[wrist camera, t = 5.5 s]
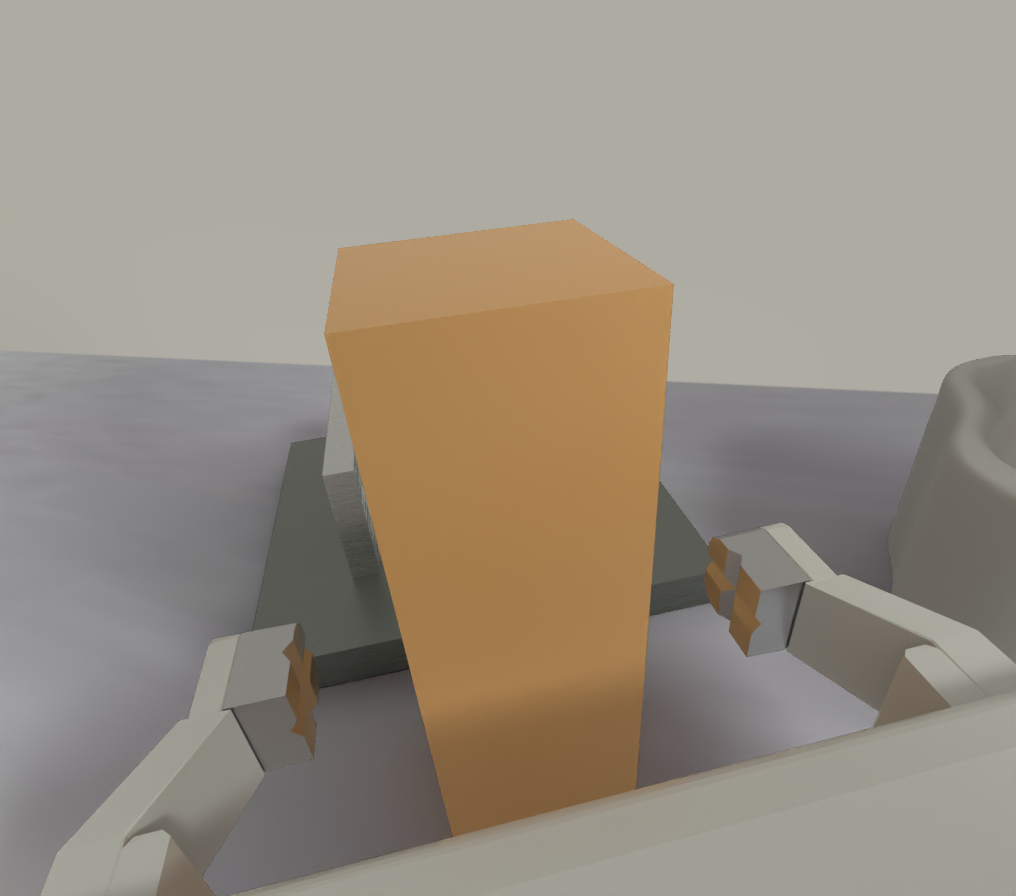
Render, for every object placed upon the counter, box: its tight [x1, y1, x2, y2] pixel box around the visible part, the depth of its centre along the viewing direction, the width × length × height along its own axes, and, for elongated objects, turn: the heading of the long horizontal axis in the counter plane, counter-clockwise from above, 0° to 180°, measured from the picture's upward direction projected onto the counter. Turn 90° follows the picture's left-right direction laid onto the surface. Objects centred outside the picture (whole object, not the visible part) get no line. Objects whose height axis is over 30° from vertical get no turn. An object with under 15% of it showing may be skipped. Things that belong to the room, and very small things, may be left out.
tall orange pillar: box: [324, 219, 674, 837], centre depth 13 cm, size 4×4×14 cm
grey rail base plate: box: [253, 373, 713, 688], centre depth 24 cm, size 14×16×6 cm
